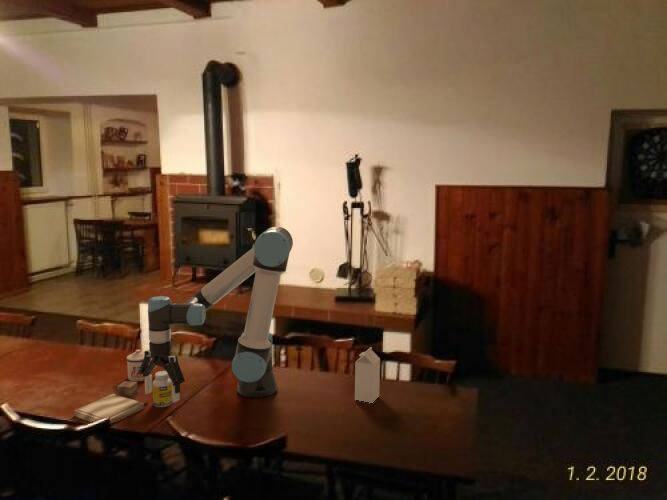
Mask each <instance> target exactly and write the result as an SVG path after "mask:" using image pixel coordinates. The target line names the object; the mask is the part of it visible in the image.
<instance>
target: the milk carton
mask: <svg viewBox="0 0 667 500" xmlns="http://www.w3.org/2000/svg"><path fill="white" fill-rule="evenodd" d="M358 355H359V359H357V360H356V361H355V363H354V365H355V368H354V369H355V370H354V401H356V400H359V401H358V402H361V401H364V402H363V403H365V402H369V403H368V404H370V403H373V402H374V401H375V400H376V399H377V398H378V397H380V382H381V381H380V380H381V379H380V378H381V377H380V376H381V375H380V374H381V358H380V357H379V355H377V353H375V351H373V349H372V347H369V348H368V349H367V350H366V351H363V352H361V353H360V354H358ZM378 399H379V398H378ZM376 401H377V400H376ZM376 401H375V402H376ZM375 402H374V403H375ZM374 403H373V404H374Z"/></svg>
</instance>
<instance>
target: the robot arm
mask: <svg viewBox="0 0 667 500" xmlns="http://www.w3.org/2000/svg"><path fill="white" fill-rule="evenodd" d="M293 241H294V240H293V236H292V234H291V233H290V232H289V230H287V229H286V228H284V227H282V226H272V227H269V228H267V229H266V230H264V231H262V232H261V234H259V235H258V236H257V238H256V240H255V242H254V243H253V244H252V248H251V249H249V250H248V251H246V253H244V254H243V255H242V256H241V257H240V258H238V259H237V260H235V262H234V261H233V263H232V264H231V265H229V266H228V267H227V268H225V270H223V271H222V272H221V273H220V274H218V275H217V276H216V277H214V278H213V279H212V280H210V282H208V283H206V285H204V286H203V287H202V288H201V289H200V290H198V291H197V292H195V293H194V294H192V295H191V296H190V297H189V298H188V299H187V300H186V301H185V302H183V303H176V302H175V303H173V302H171V298H170V297H169V296H164V295H160V296H153V297H150V298H149V299H148V301H147V317H148V318H147V319H148V320H147V321H148V322H147V323H148V341H149V342H148V347H149V348H148V350H144V359H143V362H142V364H141V367H140V370H139V373H140V374H141V373H142V374H143V376H144V381H143V384H144V394H145V395H148V394H150V393H153V375H152V371H154V370H155V369H154V367H155V366H156V365H157V366H159V367H160V368H162V369H163V370H164V371H167V373H168V375H169V377H168V378H169V379H171V382H172V403H176V402H178V401H180V392H181V385H182V384H183V383H185V381H186V380H185V377H184V375H183V372H182V368H181V366H180V364H179V361H178V356H177V355H175V354H174V355H171V351H172V349H173V348H172V347H173V346H172V325H173V326H174V325H175V326H176V325H177V326H192V327H193V326H201V325H203V324H205V320H206V316H207V315H206V312H207V311H208V310H209V309H210V308H211V307H213V306H214V305H215V304H217V303H218V302H219V301H220V300H221V299H223V298H224V297H225V296H226V295H228V294H229V293H230V292H232V291H233V290H235V289H236V288H237V287H238V286H239V285H241V284H242V283H243V282H244V281H246V280H248V278H250V277H251V276H252V275H253V274H254V278H253V279H254V280H253V286H252V289H251V295H250V301H249V307H248V311H247V316H246V317H247V318H246V322H245V326H244V331H243V332H242V333H241V335H240V336H239V338H238V340H237V345H236V349H235V355H234V357H233V359H232V360H231V361H232V362H231V370H232V372H233V375H234V376H235V377H236V378H237V379H238V383H237V393H238V394H239V395H240V396H242V397H245V396H246V397H245V398H249V397H261V398H264V397H263V396H266V397H268V396H267V395H270V394H272V393H274V392H275V391H276V390H277V391H278V381H277V380H276V376H275V373H274V370H273V339H274V338H273V335H272V333H271V332H270V329H271V326H272V325H271V324H272V319H273V315H274V309H275V305H276V299H277V295H278V289H279V284H280V279H281V275H282V274H284V273H286V271H287V269H288V268H287V267H288V262H289V256H290V254H291V251H292V249H293V244H294V243H293ZM151 358H152V360H151ZM149 362H150V364H149ZM153 369H154V370H153ZM149 374H150V375H149ZM277 391H276V392H277ZM276 392H275V393H276ZM275 393H274V394H275ZM272 395H273V394H272ZM270 396H271V395H270Z"/></svg>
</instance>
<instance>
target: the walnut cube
mask: <svg viewBox="0 0 667 500" xmlns="http://www.w3.org/2000/svg"><path fill="white" fill-rule="evenodd" d="M138 394H139V393H138V381H137V382H135V381H130V380H124V381H123V382H121V383H120V384H118V385H117V395H119V396H122V397H126V398H129V399H132V400H134V398H135V397H136V396H137V395H138Z"/></svg>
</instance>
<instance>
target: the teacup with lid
mask: <svg viewBox="0 0 667 500" xmlns="http://www.w3.org/2000/svg"><path fill="white" fill-rule="evenodd" d="M144 353H145V351H142V350H141V349H135V352H133V353H131V354H128V355H127V356H126V359H125V360H126V363H127V365H126V366H127V379H128V381H130V382H137V383H138V382H144V376H143V374H142V373H141V374H140V373H139V370H140V367H141V364H142V362H143V359H144ZM151 360H152V357H151ZM151 360H150V361H151ZM149 364H150V362H149ZM156 368H157V365H156V366H155V367H154V369H153V370H152V371H154V370H155V369H156ZM149 375H151V374H149Z"/></svg>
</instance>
